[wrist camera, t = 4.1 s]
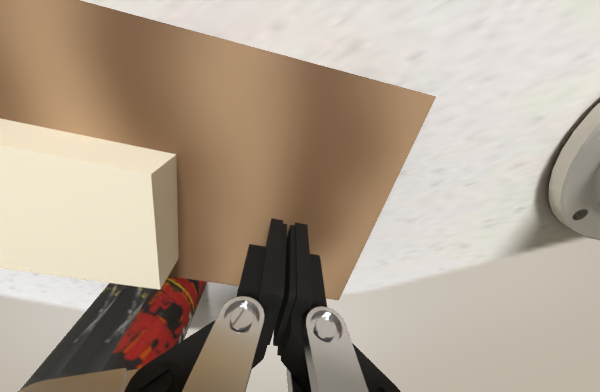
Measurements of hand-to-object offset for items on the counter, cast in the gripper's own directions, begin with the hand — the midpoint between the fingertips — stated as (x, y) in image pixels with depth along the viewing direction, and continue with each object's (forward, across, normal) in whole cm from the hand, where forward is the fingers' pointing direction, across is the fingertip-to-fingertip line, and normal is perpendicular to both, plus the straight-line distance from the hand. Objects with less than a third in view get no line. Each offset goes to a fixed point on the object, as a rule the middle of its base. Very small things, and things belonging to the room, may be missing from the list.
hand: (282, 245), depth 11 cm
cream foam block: (+1, +10, 0) cm, 10 cm away
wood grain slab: (+5, +6, -2) cm, 8 cm away
